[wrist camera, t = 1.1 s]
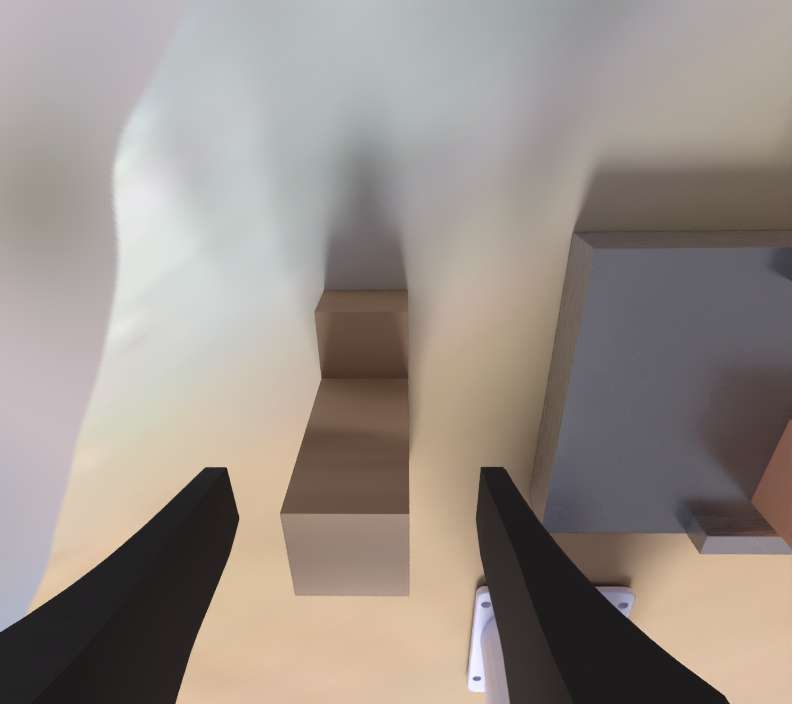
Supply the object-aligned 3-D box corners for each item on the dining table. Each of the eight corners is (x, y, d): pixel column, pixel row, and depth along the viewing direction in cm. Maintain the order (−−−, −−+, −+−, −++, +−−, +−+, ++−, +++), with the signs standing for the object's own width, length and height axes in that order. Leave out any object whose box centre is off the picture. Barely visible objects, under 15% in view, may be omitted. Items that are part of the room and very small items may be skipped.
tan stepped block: (408, 461, 20) (409, 651, 13) (340, 461, 20) (305, 650, 13) (408, 289, 16) (409, 427, 9) (324, 289, 17) (263, 427, 10)
